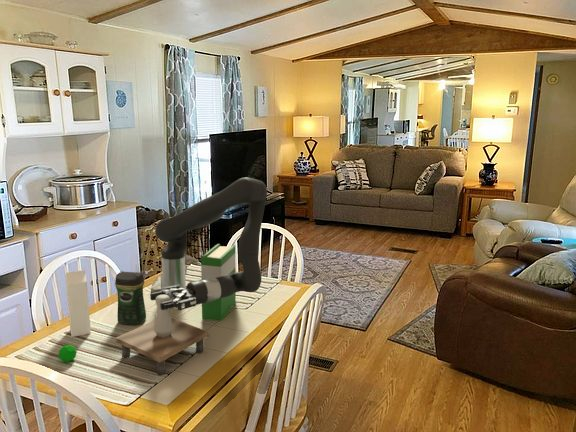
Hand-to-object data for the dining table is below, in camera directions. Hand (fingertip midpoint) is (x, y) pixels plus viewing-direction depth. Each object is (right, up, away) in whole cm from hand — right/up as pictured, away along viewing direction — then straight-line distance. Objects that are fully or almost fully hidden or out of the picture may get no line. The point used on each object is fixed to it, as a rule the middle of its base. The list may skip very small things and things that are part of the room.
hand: (155, 301), depth 144 cm
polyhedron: (-27, -18, 0) cm, 32 cm away
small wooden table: (+1, -17, +5) cm, 18 cm away
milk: (-31, -14, +18) cm, 38 cm away
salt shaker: (+2, -11, +4) cm, 12 cm away
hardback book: (+14, -10, +38) cm, 42 cm away
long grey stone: (-12, -3, +67) cm, 69 cm away
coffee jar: (-16, -12, +27) cm, 34 cm away
